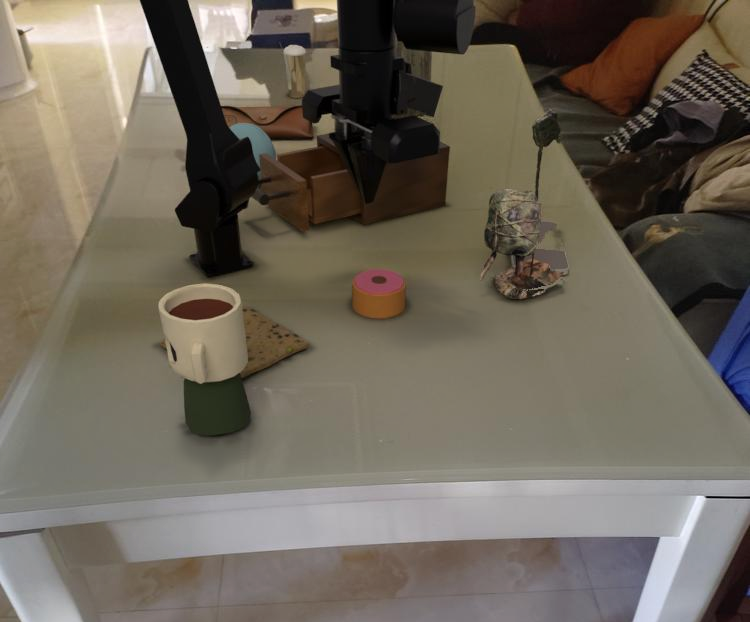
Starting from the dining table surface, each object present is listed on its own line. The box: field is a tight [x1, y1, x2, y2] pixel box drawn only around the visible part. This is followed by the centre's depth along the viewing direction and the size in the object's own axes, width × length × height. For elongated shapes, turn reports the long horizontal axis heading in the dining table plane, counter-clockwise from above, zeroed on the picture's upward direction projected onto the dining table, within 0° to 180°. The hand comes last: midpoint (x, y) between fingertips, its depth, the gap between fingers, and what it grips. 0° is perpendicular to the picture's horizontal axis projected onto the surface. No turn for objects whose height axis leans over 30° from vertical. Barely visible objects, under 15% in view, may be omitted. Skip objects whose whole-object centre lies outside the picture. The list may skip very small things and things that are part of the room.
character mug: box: [158, 282, 252, 436], centre depth 69 cm, size 11×7×13 cm, turn 3°
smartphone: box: [509, 220, 570, 276], centre depth 103 cm, size 7×1×15 cm
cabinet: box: [316, 132, 451, 226], centre depth 113 cm, size 15×14×9 cm
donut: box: [351, 268, 407, 319], centre depth 90 cm, size 6×6×3 cm
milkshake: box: [278, 41, 307, 99], centre depth 152 cm, size 4×5×10 cm
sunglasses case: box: [221, 104, 314, 141], centre depth 137 cm, size 18×7×7 cm
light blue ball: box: [229, 123, 277, 187], centre depth 117 cm, size 7×9×12 cm
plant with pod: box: [478, 108, 564, 300], centre depth 88 cm, size 8×11×20 cm
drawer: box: [251, 146, 361, 232], centre depth 108 cm, size 18×12×7 cm
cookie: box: [159, 305, 309, 379], centre depth 83 cm, size 12×12×1 cm
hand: (367, 202), depth 85 cm, fingers closed
